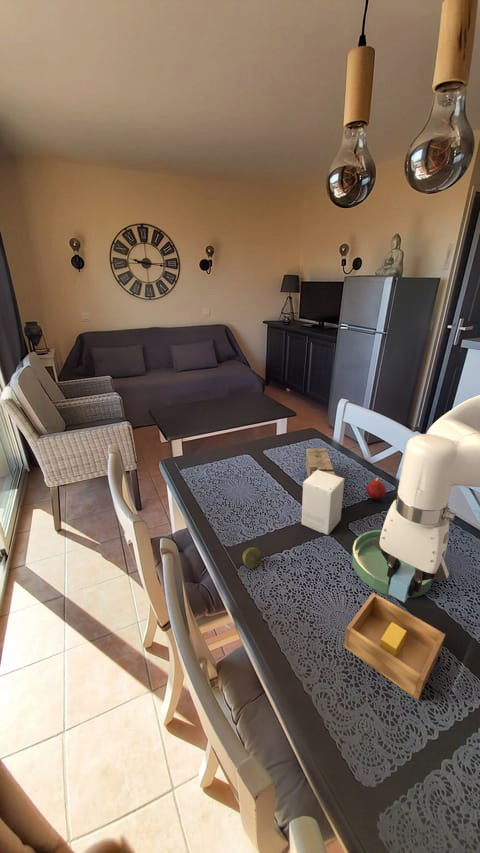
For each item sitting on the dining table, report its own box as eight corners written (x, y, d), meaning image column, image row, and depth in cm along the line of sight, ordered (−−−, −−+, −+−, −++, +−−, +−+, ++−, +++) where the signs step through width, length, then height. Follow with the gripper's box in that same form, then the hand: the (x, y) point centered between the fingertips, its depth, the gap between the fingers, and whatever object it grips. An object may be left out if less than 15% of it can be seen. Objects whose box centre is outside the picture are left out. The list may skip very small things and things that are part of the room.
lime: (262, 560, 95) (262, 545, 93) (256, 573, 91) (256, 558, 89) (246, 555, 97) (246, 541, 95) (240, 568, 93) (239, 553, 91)
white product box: (341, 520, 109) (346, 478, 103) (328, 536, 103) (332, 492, 97) (314, 509, 114) (317, 468, 108) (300, 524, 108) (302, 481, 102)
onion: (383, 506, 115) (387, 484, 112) (364, 503, 117) (367, 482, 113) (383, 495, 120) (386, 475, 117) (365, 493, 122) (368, 472, 118)
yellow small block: (403, 644, 73) (406, 630, 71) (393, 662, 69) (396, 648, 68) (388, 634, 75) (391, 621, 73) (378, 652, 71) (381, 638, 70)
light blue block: (414, 586, 69) (418, 571, 68) (404, 602, 66) (407, 586, 64) (399, 578, 71) (402, 562, 69) (388, 593, 68) (391, 577, 66)
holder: (439, 653, 71) (445, 634, 69) (418, 700, 64) (423, 681, 62) (369, 610, 81) (372, 591, 78) (343, 646, 73) (346, 627, 71)
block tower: (339, 516, 112) (325, 466, 138) (342, 494, 108) (327, 447, 135) (314, 516, 113) (305, 466, 139) (315, 494, 109) (306, 446, 135)
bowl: (443, 565, 92) (447, 553, 90) (415, 615, 79) (418, 602, 78) (371, 531, 104) (373, 520, 102) (337, 569, 92) (338, 557, 90)
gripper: (481, 516, 58) (456, 598, 65) (382, 479, 68) (370, 554, 76) (468, 540, 53) (442, 626, 60) (363, 496, 63) (353, 574, 71)
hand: (402, 585), depth 68 cm, fingers closed on light blue block, 3 cm apart
